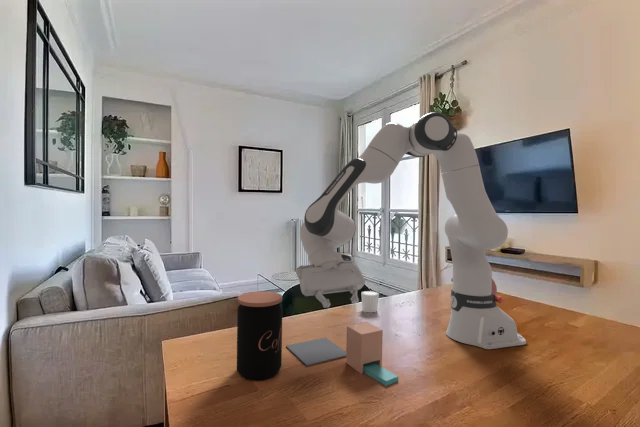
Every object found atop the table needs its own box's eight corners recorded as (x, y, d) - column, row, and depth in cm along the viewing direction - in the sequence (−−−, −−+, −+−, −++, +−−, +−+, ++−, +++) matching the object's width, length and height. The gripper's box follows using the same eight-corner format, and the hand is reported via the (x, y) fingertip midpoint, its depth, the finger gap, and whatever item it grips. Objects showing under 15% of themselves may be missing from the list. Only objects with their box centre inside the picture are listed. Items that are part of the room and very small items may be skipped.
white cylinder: (378, 314, 124) (378, 295, 124) (360, 312, 126) (360, 294, 125) (378, 308, 131) (379, 291, 131) (361, 307, 132) (361, 290, 132)
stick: (363, 362, 86) (363, 356, 86) (398, 383, 76) (398, 376, 76) (351, 366, 83) (351, 360, 83) (386, 388, 74) (386, 381, 74)
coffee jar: (260, 387, 72) (261, 305, 72) (226, 373, 78) (227, 298, 77) (290, 368, 81) (291, 295, 81) (257, 357, 87) (258, 289, 87)
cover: (366, 357, 87) (366, 322, 87) (381, 368, 82) (382, 330, 82) (346, 362, 84) (346, 325, 84) (360, 373, 79) (361, 334, 79)
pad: (325, 338, 100) (325, 337, 100) (349, 355, 88) (349, 354, 88) (286, 346, 93) (286, 345, 93) (306, 366, 82) (306, 364, 82)
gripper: (297, 259, 94) (313, 303, 85) (356, 256, 103) (375, 294, 95) (291, 272, 97) (305, 315, 89) (348, 267, 107) (366, 305, 99)
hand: (342, 304), depth 92 cm, fingers open, 8 cm apart
